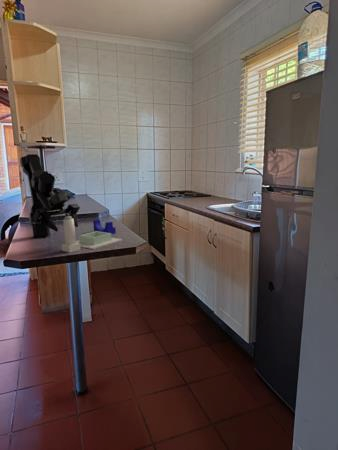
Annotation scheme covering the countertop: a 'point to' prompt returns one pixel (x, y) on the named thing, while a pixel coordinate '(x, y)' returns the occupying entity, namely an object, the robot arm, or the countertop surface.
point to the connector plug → (69, 235)
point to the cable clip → (107, 229)
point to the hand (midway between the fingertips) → (67, 228)
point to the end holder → (96, 240)
